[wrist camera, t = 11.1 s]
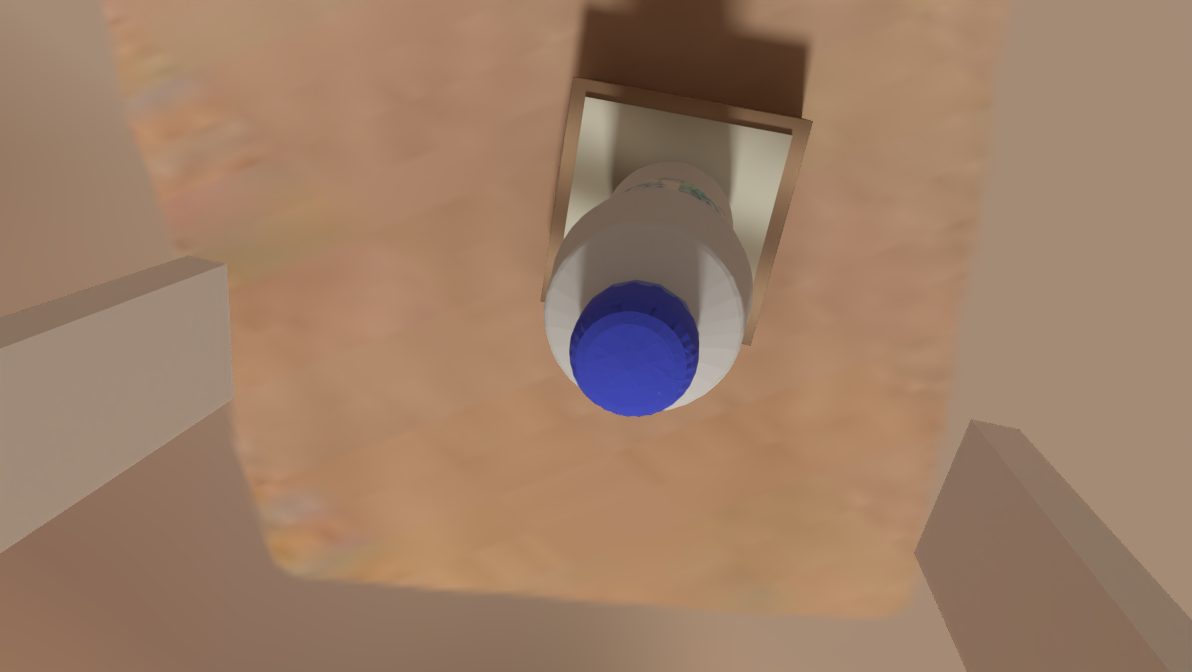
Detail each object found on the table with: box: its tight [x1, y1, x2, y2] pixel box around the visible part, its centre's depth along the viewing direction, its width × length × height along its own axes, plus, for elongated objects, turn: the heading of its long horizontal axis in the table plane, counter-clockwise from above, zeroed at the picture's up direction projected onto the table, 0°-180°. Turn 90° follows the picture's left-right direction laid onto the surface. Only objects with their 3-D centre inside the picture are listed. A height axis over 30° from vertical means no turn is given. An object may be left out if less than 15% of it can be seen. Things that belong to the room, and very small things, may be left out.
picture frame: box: [541, 77, 813, 346], centre depth 37 cm, size 12×12×4 cm
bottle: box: [544, 162, 753, 417], centre depth 25 cm, size 7×7×20 cm
